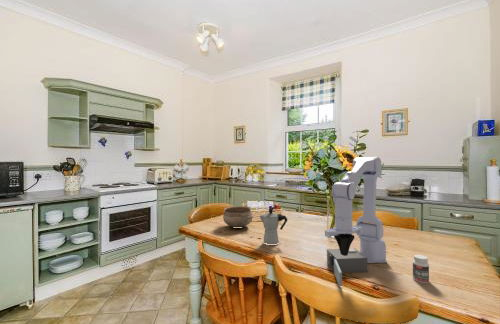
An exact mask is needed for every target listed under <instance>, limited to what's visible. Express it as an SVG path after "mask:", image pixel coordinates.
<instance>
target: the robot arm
mask: <svg viewBox="0 0 500 324" xmlns="http://www.w3.org/2000/svg"><path fill="white" fill-rule="evenodd" d="M381 176H382V160H381V158H380V157H379V156H360V157H358V156H356V157H355V158H353V160H352V168H351V171H347V172H346V173H345V174H344V176H342V178H341V179H340V181H337V182H335V183H334V184H332V188H331V195H332V199H333V200H332V202H333V203H334V225H335V227H333V228H332V227H331V228H329V229H326V230H324V236H325V237H327V238H331V237H334V239H335V241H336V243H337V245H338V249H340V253H341V254H342V255H343V256H347V255H348V251H349V248H350V247H351V246H352V243H353V241H354V240H355V235H354V234H356V235H357V236H358V238H359V250H360V251H359V252H360V253H362V254H363V255H364V256H366V257H367V264H375V263H381V264H382V263H388V261H387V245H386V242H385V240H384V239H383V237H384V227H383V226H384V223H383V221H382V220H381V219H380V218H379V217H377V216H376V212H377V211H376V209H377V208H376V206H377V203H376V202H377V181H378V178H380V177H381ZM361 177H362V179H363V204H362V205H363V207H362V215H360V216H359V217H358V218H357V219H356V224H355V226H353V200H354V199H355V195H356V192H357V187H358V185H359V183H361Z"/></svg>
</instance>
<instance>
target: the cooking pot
mask: <svg viewBox="0 0 500 324" xmlns="http://www.w3.org/2000/svg"><path fill="white" fill-rule="evenodd" d="M223 210H224V211H223V212H222V213H223V216H222V218H223V219H222V220H223V222H224V224H225V225H227V226H229V227H230V226H231V228H232V227H243V228H245V227H247V226H248V225H250V223H251V222H252V220H253V218H254V215H253V213H252V207H250V206H247V205H245V206H244V205H233V206H227V207H224V208H223ZM244 226H245V227H244Z"/></svg>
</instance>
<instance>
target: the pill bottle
mask: <svg viewBox="0 0 500 324" xmlns="http://www.w3.org/2000/svg"><path fill="white" fill-rule="evenodd" d="M428 262H429V257H427V256H426V255H423V254H414V255H413V260H412V279H413V280H414V281H415V282H417V283H420V284H428V283H430V265H429V263H428Z"/></svg>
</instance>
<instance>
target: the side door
mask: <svg viewBox="0 0 500 324" xmlns="http://www.w3.org/2000/svg"><path fill="white" fill-rule="evenodd" d="M333 273H334V276H335V278H336V282H337V285H338V286H339V285H340V286H342V287H343V273H342V272H341V270H340V267H339V265H338V263H337V260H336V259H334V269H333Z"/></svg>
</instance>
